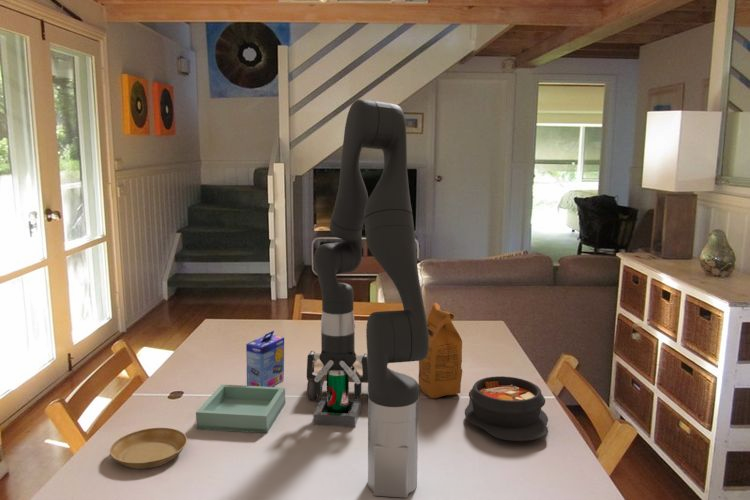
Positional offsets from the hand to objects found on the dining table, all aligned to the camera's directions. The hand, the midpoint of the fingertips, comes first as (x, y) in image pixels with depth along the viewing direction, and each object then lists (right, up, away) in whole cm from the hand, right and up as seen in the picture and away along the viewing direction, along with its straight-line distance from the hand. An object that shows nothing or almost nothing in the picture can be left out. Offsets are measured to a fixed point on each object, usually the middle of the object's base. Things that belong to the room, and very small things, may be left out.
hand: (338, 396), depth 144 cm
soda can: (0, -5, +1) cm, 5 cm away
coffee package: (+25, -2, +17) cm, 30 cm away
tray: (-22, -5, +1) cm, 23 cm away
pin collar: (0, -5, +1) cm, 5 cm away
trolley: (+2, -2, +14) cm, 15 cm away
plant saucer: (-37, -8, -17) cm, 42 cm away
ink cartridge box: (-20, -2, +20) cm, 28 cm away
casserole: (+38, -6, -2) cm, 39 cm away
